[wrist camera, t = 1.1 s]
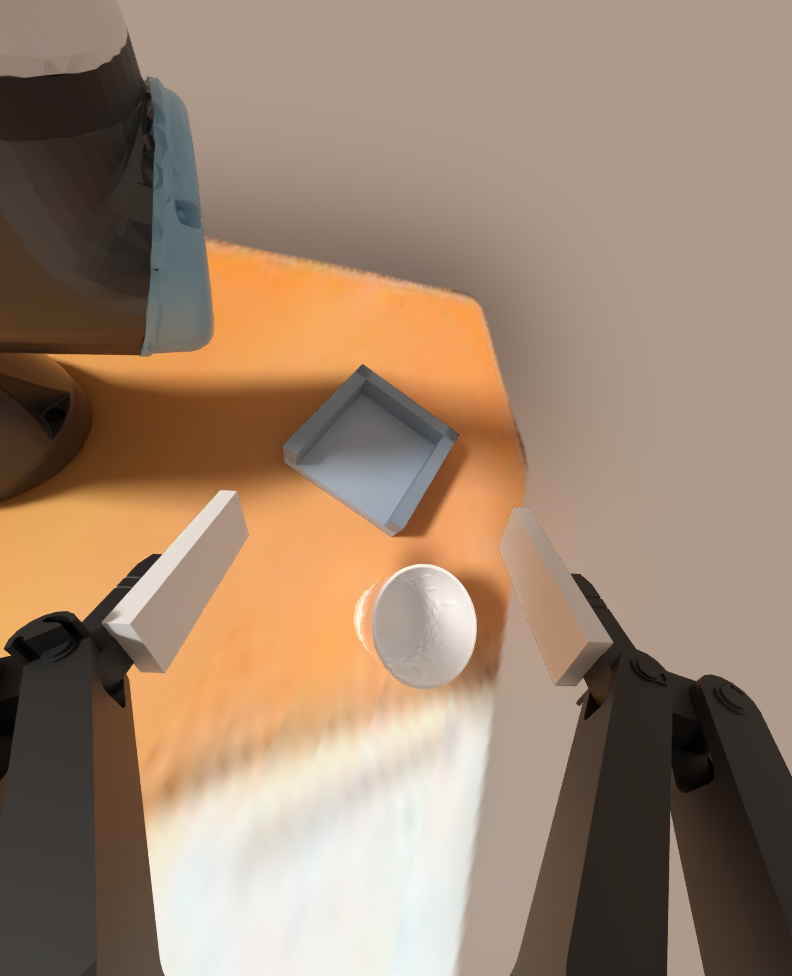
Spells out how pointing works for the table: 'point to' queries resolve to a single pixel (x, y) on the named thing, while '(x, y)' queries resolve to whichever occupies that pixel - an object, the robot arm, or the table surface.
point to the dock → (371, 450)
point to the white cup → (418, 625)
